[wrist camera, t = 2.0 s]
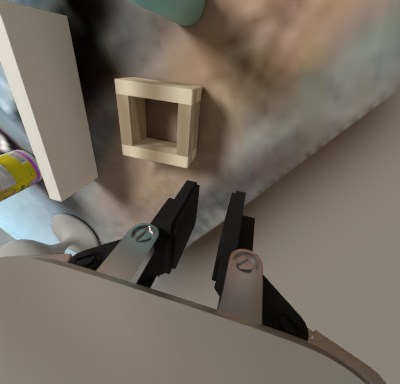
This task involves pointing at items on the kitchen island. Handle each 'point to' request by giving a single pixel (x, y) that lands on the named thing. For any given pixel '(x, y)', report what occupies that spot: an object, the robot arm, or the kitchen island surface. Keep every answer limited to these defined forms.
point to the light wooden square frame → (136, 119)
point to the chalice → (66, 233)
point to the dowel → (175, 9)
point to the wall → (48, 95)
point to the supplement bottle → (17, 172)
